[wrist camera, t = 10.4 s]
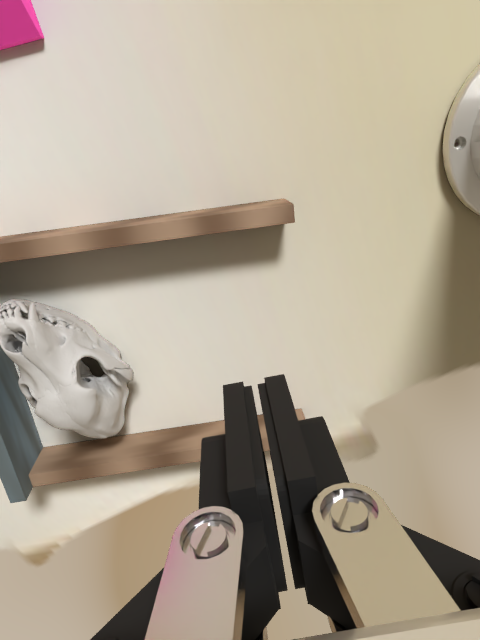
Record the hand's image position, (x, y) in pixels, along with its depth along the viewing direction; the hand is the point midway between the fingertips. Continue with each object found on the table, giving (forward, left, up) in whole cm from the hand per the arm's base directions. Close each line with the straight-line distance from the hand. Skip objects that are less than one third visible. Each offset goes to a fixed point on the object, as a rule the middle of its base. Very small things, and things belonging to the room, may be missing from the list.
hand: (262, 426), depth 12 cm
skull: (+12, +7, -24) cm, 27 cm away
